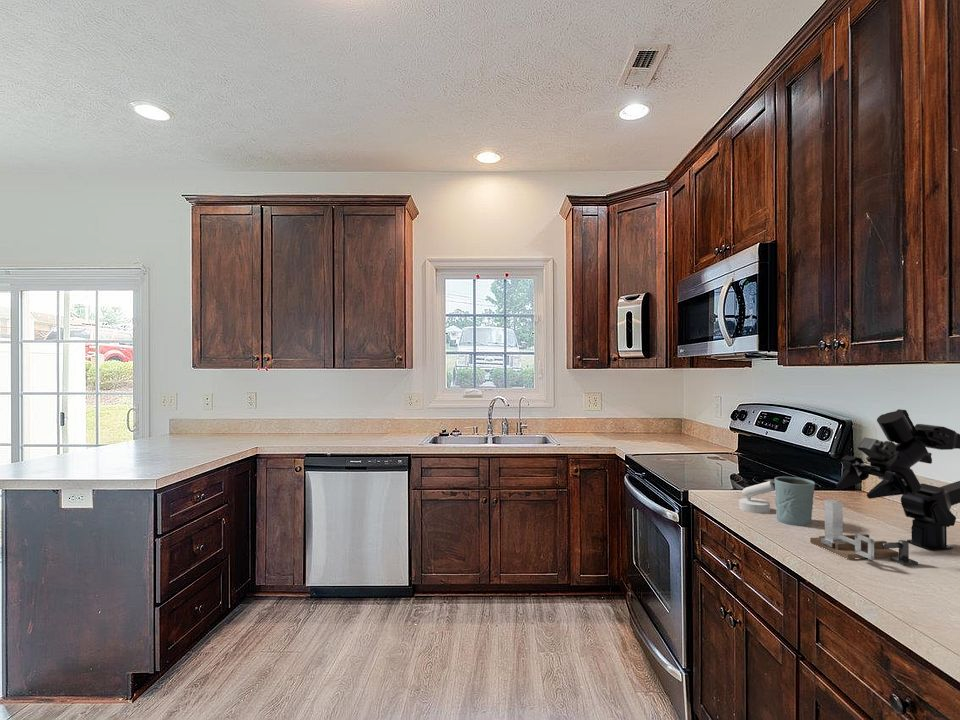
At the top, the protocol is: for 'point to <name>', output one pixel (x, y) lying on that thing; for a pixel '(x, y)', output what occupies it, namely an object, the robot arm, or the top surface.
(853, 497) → the top surface
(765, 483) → the wall hook
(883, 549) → the track board
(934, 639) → the top surface
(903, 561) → the keeper hook
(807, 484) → the green embossed cup
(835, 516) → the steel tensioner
